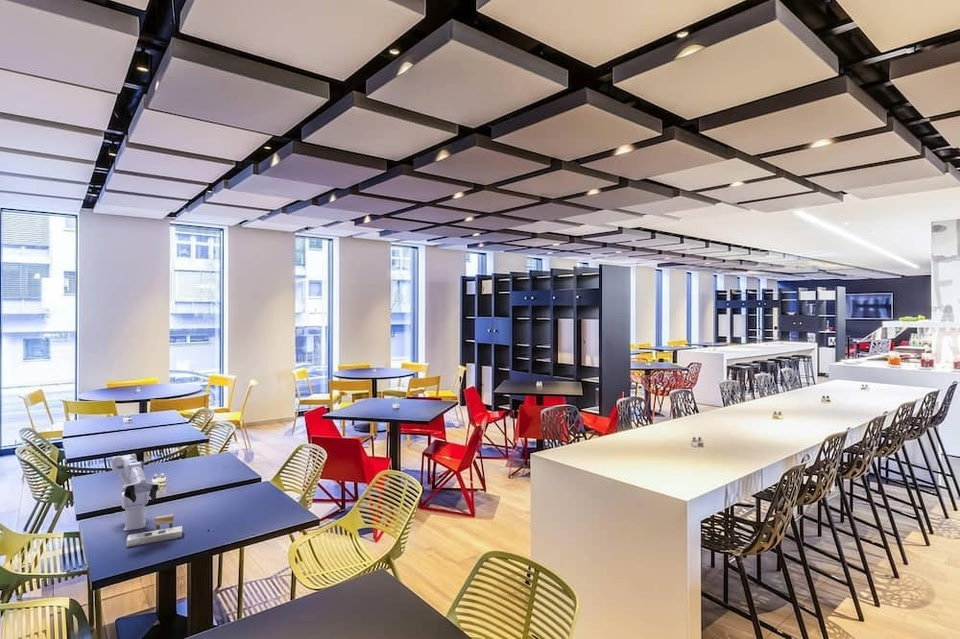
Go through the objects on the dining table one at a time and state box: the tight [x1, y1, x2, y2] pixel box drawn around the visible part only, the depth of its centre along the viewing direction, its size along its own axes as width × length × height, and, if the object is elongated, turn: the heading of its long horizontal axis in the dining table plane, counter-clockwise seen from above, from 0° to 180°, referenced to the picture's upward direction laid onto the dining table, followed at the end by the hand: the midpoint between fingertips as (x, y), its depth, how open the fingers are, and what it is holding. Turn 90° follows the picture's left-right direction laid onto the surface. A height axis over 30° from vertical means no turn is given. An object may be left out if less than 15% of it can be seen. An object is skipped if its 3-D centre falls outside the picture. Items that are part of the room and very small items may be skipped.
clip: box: [154, 513, 175, 531], centre depth 235 cm, size 3×7×6 cm, turn 119°
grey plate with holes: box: [126, 525, 183, 548], centre depth 225 cm, size 7×20×2 cm, turn 119°
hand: (144, 500), depth 224 cm, fingers open, 7 cm apart
